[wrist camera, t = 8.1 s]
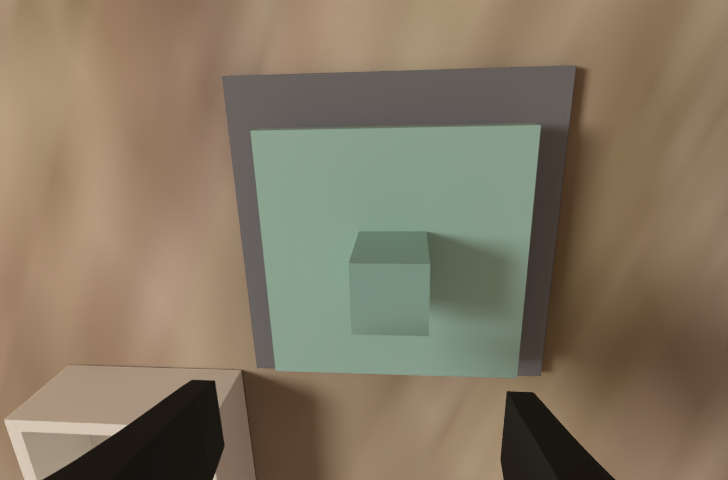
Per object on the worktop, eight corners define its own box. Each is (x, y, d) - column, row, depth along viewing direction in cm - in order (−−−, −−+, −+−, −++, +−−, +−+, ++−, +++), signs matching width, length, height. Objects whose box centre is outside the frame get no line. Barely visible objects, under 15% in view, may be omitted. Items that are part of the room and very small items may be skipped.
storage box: (241, 370, 23) (208, 428, 19) (259, 509, 26) (234, 583, 22) (68, 364, 23) (4, 419, 20) (105, 500, 26) (55, 570, 23)
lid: (528, 120, 17) (572, 136, 13) (507, 353, 21) (537, 435, 16) (264, 125, 18) (215, 142, 13) (286, 347, 21) (251, 423, 17)
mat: (571, 65, 17) (576, 65, 16) (537, 369, 21) (540, 376, 21) (226, 76, 18) (222, 76, 18) (260, 361, 22) (256, 368, 22)
